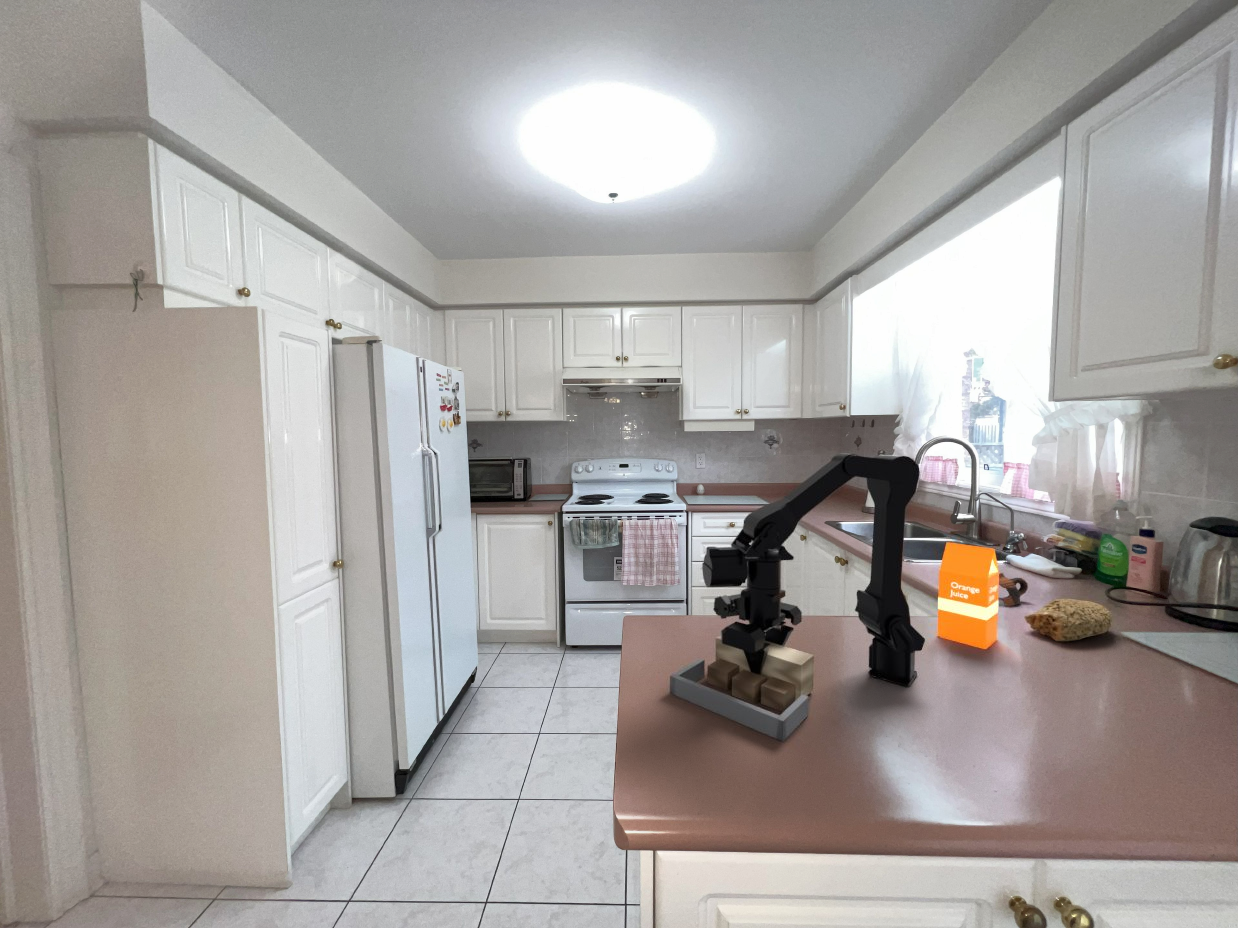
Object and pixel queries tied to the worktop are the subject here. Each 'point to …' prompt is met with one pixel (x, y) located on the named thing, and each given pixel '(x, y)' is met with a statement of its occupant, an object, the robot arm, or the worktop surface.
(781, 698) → the walnut chip
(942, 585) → the orange juice
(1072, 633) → the tan porous lump
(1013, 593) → the pottery mug
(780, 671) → the block
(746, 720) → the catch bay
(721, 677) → the walnut chip
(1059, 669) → the worktop surface
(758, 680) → the block
